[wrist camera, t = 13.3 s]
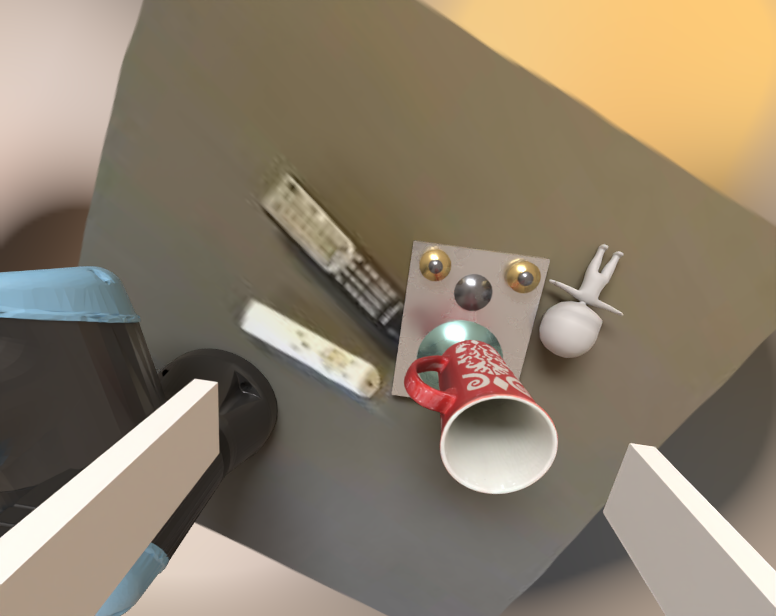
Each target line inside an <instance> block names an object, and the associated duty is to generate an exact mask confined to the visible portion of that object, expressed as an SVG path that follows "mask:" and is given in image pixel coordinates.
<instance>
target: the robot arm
mask: <svg viewBox="0 0 776 616" xmlns="http://www.w3.org/2000/svg"><path fill="white" fill-rule="evenodd" d="M140 321H141V320H140V316H138V315H137V314H136V313H135V311H134V309H133V307H132V304H131V302H130V300H129V297H128V295H127V293H126V291H125V288H124V286H123V284H122V282H121V280H120V279H119V278H118V277H117V276H116V275H115V274H114V273H112V272H110V271H109V270H106V269H104V268H100V267H94V266H85V267H71V268H58V269H44V270H31V271H17V272H3V273H0V616H121V615H123V614H124V613H126V612H127V611H128V610H129V609H130V608H131V607H132V606H134V605H135V604H136V602H137V601H138V600H139V599H140V597H141V596H142V595H143V593H144V592H145V591H146V589H147V588H148V587H149V585H150V584H151V583H152V581H153V580H154V579H155V577H156V576H157V575H158V574H159V573H161V572H162V571H163V570H164V569H165V567H166V566H167V564H168V562H169V560H170V559H171V557H172V555H173V554H174V553H175V551H176V549H177V548H178V546H179V545H180V543H181V542H182V540H183V539H184V537H185V536H186V534H187V533H188V531H189V530H190V528H191V527H192V525H193V524H194V522H195V521H196V519H197V518H198V516H199V515H200V513H201V511H202V510H203V508H204V507H205V505H206V504H207V502H208V501H209V499H210V498H211V496H212V495H213V493H214V492H215V490H216V489H217V487H218V486H219V484H220V483H221V481H222V480H223V478H224V477H225V475H226V474H228V473H229V472H230V471H232V470H233V469H234V468H235V467H237V466H238V465H239V464H241V463H242V462H243V461H245V460H246V459H248V458H250V457H251V456H253V455H254V454H255V453H256V452H257V451H258V450H259V449H260V448H261V447H262V446H263V445H264V443H265V442H266V440H267V439H268V437H269V435H270V434H271V432H272V430H273V428H274V426H275V422H276V418H277V404H276V399H275V395H274V392H273V390H272V388H271V386H270V384H269V383H268V381H267V379H266V378H265V377H264V376H263V374H262V373H261V372H260V371H259V370H258V369H257V368H256V367H255V366H253V365H252V364H251V363H250V362H248V361H247V360H245V359H243V358H242V357H240V356H238V355H235V354H233V353H230V352H227V351H223V350H218V349H199V350H194V351H191V352H188V353H186V354H183V355H182V356H180V357H178V358H177V359H175V360H174V361H173V362H171V363H170V364H168V365H167V366H166V367H164V368H163V369H162V370H161V371H160V372H159V374H157V372H156V369H155V366H154V363H153V361H152V358H151V355H150V352H149V349H148V347H147V344H146V341H145V338H144V336H143V333H142V330H141V327H140V324H139V322H140ZM603 513H604V515H605V516H606V518H607V520H608V521H609V523H610V525H611V526H612V528H613V530H614V531H615V533H616V535H617V536H618V538H619V540H620V541H621V543H622V545H623V546H624V548H625V549H626V551H627V553H628V554H629V556H630V558H631V559H632V561H633V563H634V564H635V566H636V567H637V569H638V571H639V572H640V574H641V576H642V578H643V579H644V581H645V582H646V584H647V586H648V587H649V589H650V591H651V592H652V594H653V596H654V597H655V599H656V600H657V602H658V604H659V606H660V607H661V609H662V610H663V612H664V614H665V615H666V616H776V571H775V570H774V569H773V568H772V567H771V566H770V565H769V564H768V563H767V562H766V561H765V560H764V559H763V558H762V557H761V556H760V555H759V554H758V553H757V552H756V550H755V549H754V548H753V547H752V546H751V545H750V544H749V543H747V541H746V540H745V539H744V538H743V537H742V536H741V535H740V534H739V533H738V532H737V531H736V530H735V529H734V528H733V527H732V526H731V525H730V524H729V523H728V522H727V521H726V520H725V519H724V518H723V517H722V516H721V515H720V514H719V513H718V512H717V510H716V509H715V508H714V507H713V506H712V505H711V504H710V503H709V502H708V501H707V500H706V499H705V498H704V497H703V496H702V495H701V494H700V493H699V492H698V491H697V490H696V489H695V488H694V487H693V486H692V485H691V484H690V483H689V482H688V481H687V480H686V479H685V478H684V477H683V476H682V475H681V474H680V473H679V471H678V470H677V469H676V468H675V467H673V465H672V464H671V463H670V462H669V461H668V460H667V459H666V458H665V457H664V456H663V455H662V454H661V453H660V452H659V451H658V450H657V449H656V448H655V447H652V446H645V445H638V444H631V443H630V444H629V446H628V449H627V451H626V454H625V457H624V459H623V462H622V464H621V467H620V469H619V472H618V475H617V477H616V480H615V482H614V485H613V488H612V490H611V493H610V495H609V498H608V500H607V503H606V506H605V508H604V511H603Z"/></svg>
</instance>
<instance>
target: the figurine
mask: <svg viewBox="0 0 776 616" xmlns="http://www.w3.org/2000/svg"><path fill="white" fill-rule="evenodd" d="M607 249H608V246H607V245H605V244H603V245H601V246H599V248H598V251H597V253H596V255H595V256H594V258H593V260H592V261H591V263H590V264H589V266H588V268H587V270H586V272H585V274H584V276H585V277H584V280H583V283H582V285H581V287H580V289H579V290H577V289H574V288H572V287H570V286H568V285H565V284H563V283H560V282H557V281H555V280H549V282H551V283H552V284H554V285H556V286H558V287H560V288H562V289H564V290H565V291H567V292H568V293H569V294H571V295H572V296H573V297H574V298H576V299H578V300H579V301H580V302H573V301H567V302H560V303H558V304H556V305H554V306H553V307H551V308H549V309H548V310H547V311H546V312H545V313H544V315H543V316H542V317H543V319H542V321H541V325H540V328H539V332H540V339H541V341H542V343H543V344H544V346H545V347H546V348H547V349H548V350H550V351H551V352H552V353H554V354H555V355H558V356H561V357H565V358H571V357H578V356H581V355H582V354H584V353H586V352H587V351H589V350H590V349H591V347H592V346H593V345H594V344H595V342H596V340H597V337H598V334H599V331H600V328H601V325H602V322H603V321H602V320H601V318H600V317H599V316H598V315H597V314H596V313H595V312H594V311H593V310H591V309H590V308H589V307H588V306H586V304H588V305H591V306H595V307H598V308H602V309H605V310H608V311H610V312H612V313H615V314H617V315H619V316H623V313H622V312H620V311H618V310H617V309H615V308H613V307H611V306H610V305H608V304H606V303H604V302H602V301H600V300H598V296H599V294H600V292H601V290H602V289H603V288H604V286H605V285H606V284H607V283H608V282H609V280H610V278H611V276H612V274H613V272H614V270H615V267H616V264H617V262H618V260H619V258H621V257H622V256H623V253H622V252H620V251H618V252H615V253H614V254H613V257H612V258H611V260H610V261H609V262H608V263H607V264H606V266H605V267H604V268H603V270H602V272H601V273H599V272H598V270H599V267H600V265H601V262H602V257H603V254H604V252H605V251H606V250H607Z"/></svg>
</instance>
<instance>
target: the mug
mask: <svg viewBox="0 0 776 616" xmlns="http://www.w3.org/2000/svg"><path fill="white" fill-rule="evenodd" d="M427 371H436V372H438V381H439V390H437V389H434V388H432V387H430V386H429V385H427V384H426V383H424V382H423V381H422V380H421V379H420V377H419V376H418V374H419V373H422V372H427ZM404 387H405V389H406V392H407V393H408V395H409V396H410V397H411V398H412V399H413V400H414V401H415V402H416V403H418V404H419V405H421V406H423V407H425V408H427V409H430V410H433V411H437V412H440V418H441V438H440V454H441V458H442V461H443V464H444V466H445V468H446V469H447V471H448V472H449V473H450V475H451V476H452V477H453V478H454V479H455V480H456V481H458V482H459V483H460V484H462V485H464V486H465V487H467V488H470V489H472V490H475V491H478V492H482V493H488V494H504V493H510V492H514V491H518V490H521V489H523V488H525V487H527V486H529V485H531V484H533V483H534V482H536V481H537V480H539V479H540V478H541V477H542V476H543V475H544V474H545V473H546V472H547V470H548V469H549V468H550V466H551V465H552V463H553V461H554V459H555V456H556V453H557V448H558V435H557V432H556V428H555V425H554V423H553V421H552V419H551V418H550V416H549V415H548V414H547V413H546V412H545V410H543V409H542V408H541V407H540V406H539V405H537V404H536V402H535V401H534V400H533V398H532V397H531V396H530V394H529V393H528V392H527V390H526V389H525V388H524V387H523V385H522V384H521V383H520V381H519V380H518V379H517V377H516V376H515V375H514V373H513V372H512V371H511V370H510V368H509V367H508V366H507V364H506V363H505V361H504V360H503V358H502V357H501V356H500V354H499V353H498V352H497V351H496V350H495V349H494V348H493V347H492V346H490V345H489V344H487V343H485V342H482V341H477V340H466V341H461V342H458V343H456V344H454V345H452V346H451V347H449V348H448V349H447V350H446V351H445V352H444V353H443V355H442V356H440V355H434V356H427V357H422V358H419V359H417V360H415V361H414V362H413V363H412V364H411V365H410V367H409V368H408V370H407V372H406V375H405V377H404Z"/></svg>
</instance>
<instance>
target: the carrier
mask: <svg viewBox="0 0 776 616" xmlns="http://www.w3.org/2000/svg"><path fill="white" fill-rule="evenodd" d="M549 263H550V259H547V258H543V257H536V256H528V255H521V254H513V253H506V252H498V251H491V250H484V249H476V248H469V247H461V246H454V245H446V244H439V243H431V242H424V241H416V240H414V242H413V249H412V256H411V263H410V270H409V277H408V284H407V290H406V297H405V304H404V311H403V318H402V325H401V332H400V339H399V346H398V353H397V360H396V367H395V373H394V380H393V387H392V395H398V396H405V397H410V396H409V395H408V393H407V392H406V389H405V387H404V377H405V375H406V372H407V370H408V368H409V367H410V365H411V364H412V363H413V362H414V361H415V360H417V359H419V358H422V357H427V356H434V355H440V356H442V355H443V353H444V352H445V351H446V350H447V349H448V348H449V347H451V346H452V345H454V344H456V343H458V342H461V341H466V340H477V341H482V342H485V343H487V344H489V345H490V346H492V347H493V348H494V349H495V350H496V351H497V352H498V353H499V354H500V356H501V357H502V358H503V360H504V361H505V363H506V364H507V366H508V367H509V368H510V370H511V371H512V372H513V373H514V375H515V376H516V377H517V379H518V380H519V377H520V374H521V370H522V366H523V362H524V358H525V354H526V351H527V347H528V343H529V339H530V335H531V331H532V328H533V324H534V320H535V316H536V312H537V309H538V305H539V301H540V297H541V293H542V289H543V286H544V282H545V278H546V274H547V270H548V266H549ZM418 376H419V377H420V379H421V380H422V381H423V382H424V383H426V384H427V385H429V386H430V387H432V388H434V389H437V390H439V381H438V372H436V371H427V372H422V373H419V374H418Z"/></svg>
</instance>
